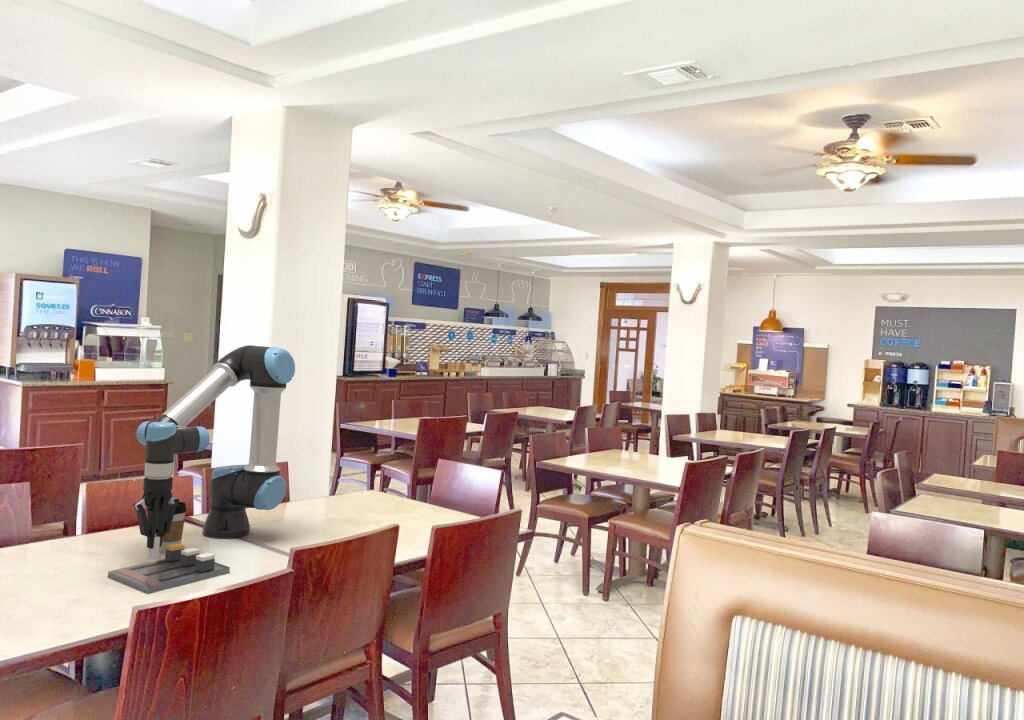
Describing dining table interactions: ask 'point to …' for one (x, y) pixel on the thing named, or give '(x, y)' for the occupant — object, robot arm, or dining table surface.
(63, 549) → the dining table surface
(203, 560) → the block
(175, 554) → the block
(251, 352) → the robot arm
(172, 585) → the panel
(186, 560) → the block
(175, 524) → the coffee cup
